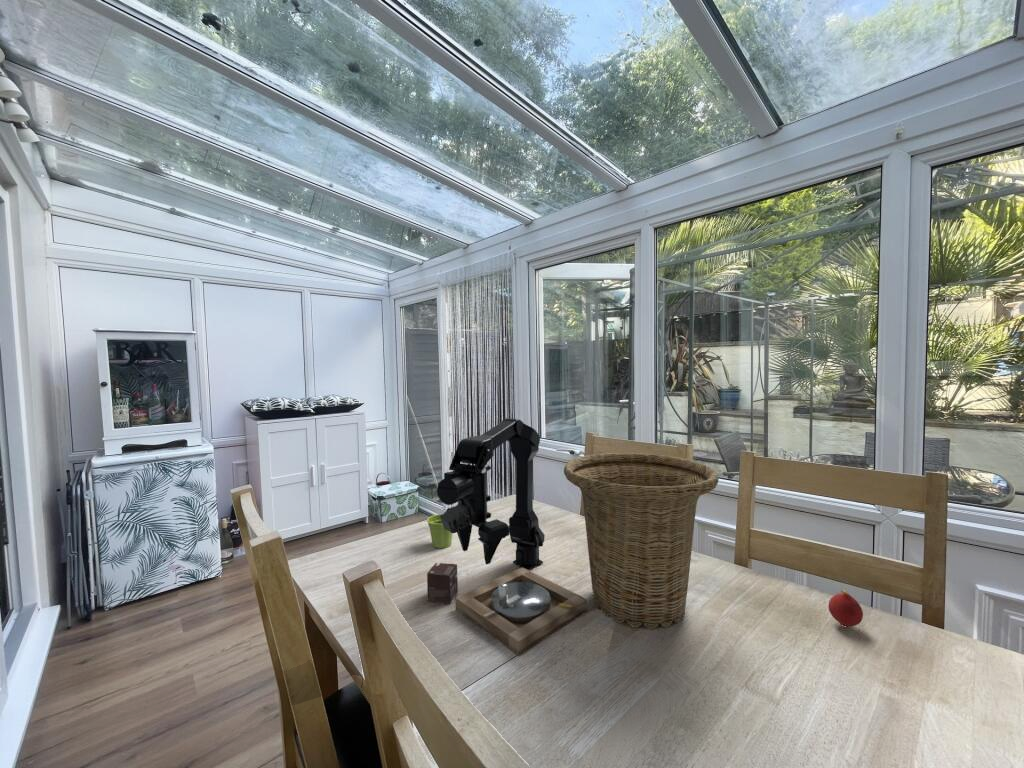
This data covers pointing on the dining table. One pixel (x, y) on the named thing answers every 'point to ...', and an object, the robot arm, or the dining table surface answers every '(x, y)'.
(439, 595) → the box
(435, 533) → the plant pot
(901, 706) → the dining table surface
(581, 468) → the wicker basket
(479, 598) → the square wooden tray
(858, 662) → the dining table surface
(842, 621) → the onion
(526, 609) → the grey metal bowl
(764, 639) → the dining table surface
